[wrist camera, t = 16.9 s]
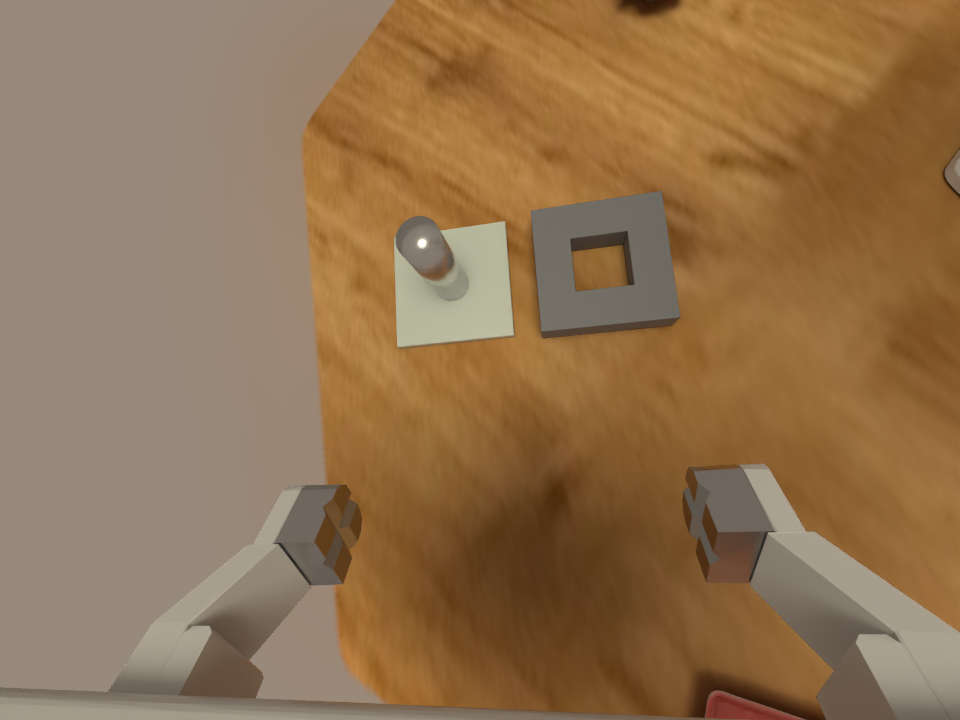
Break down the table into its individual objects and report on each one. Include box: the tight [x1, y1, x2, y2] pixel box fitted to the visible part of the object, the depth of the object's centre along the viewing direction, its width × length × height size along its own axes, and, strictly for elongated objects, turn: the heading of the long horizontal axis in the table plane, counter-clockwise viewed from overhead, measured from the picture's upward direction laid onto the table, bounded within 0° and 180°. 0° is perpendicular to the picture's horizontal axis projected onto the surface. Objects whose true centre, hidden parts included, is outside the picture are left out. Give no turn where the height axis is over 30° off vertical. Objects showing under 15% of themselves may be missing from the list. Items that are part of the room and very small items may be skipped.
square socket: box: [531, 191, 680, 338], centre depth 41 cm, size 12×12×3 cm
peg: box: [395, 216, 469, 301], centre depth 39 cm, size 4×4×11 cm
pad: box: [394, 221, 515, 348], centre depth 45 cm, size 12×12×1 cm
